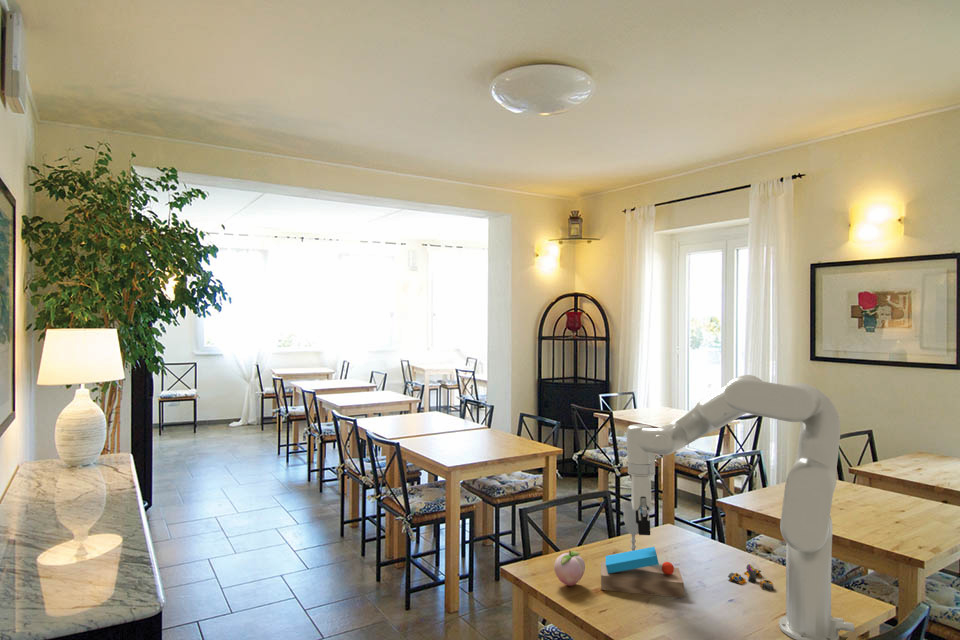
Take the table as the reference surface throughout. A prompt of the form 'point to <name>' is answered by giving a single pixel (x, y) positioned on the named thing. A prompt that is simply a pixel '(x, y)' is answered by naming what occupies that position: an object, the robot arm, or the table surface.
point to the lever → (636, 561)
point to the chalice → (630, 521)
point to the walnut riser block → (643, 581)
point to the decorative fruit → (569, 568)
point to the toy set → (751, 578)
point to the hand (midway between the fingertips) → (642, 529)
